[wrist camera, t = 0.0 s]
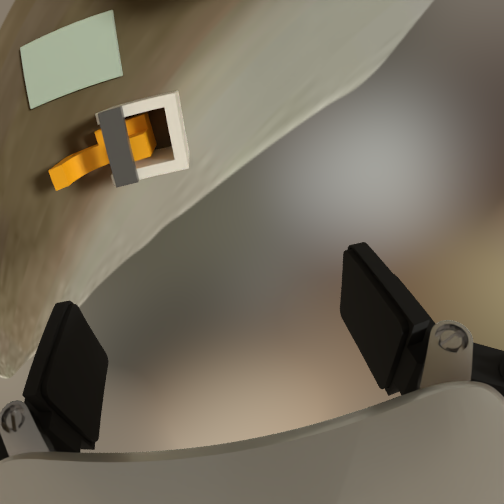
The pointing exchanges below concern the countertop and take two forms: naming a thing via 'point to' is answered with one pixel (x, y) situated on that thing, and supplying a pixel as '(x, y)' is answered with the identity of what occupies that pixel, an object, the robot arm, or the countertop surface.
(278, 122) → the countertop surface
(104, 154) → the orange branched block
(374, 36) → the countertop surface
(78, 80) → the mat
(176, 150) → the hollow square frame
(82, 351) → the robot arm
